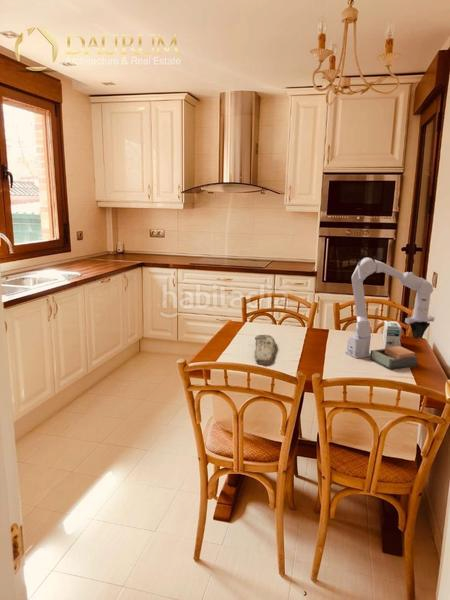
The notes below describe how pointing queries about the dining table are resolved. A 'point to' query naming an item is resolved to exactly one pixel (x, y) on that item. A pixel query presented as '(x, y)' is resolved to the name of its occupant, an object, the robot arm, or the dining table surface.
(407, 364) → the roller bed
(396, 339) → the light bulb box
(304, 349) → the dining table surface
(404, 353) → the slab
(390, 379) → the dining table surface
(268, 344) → the elongated rock
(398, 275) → the robot arm
